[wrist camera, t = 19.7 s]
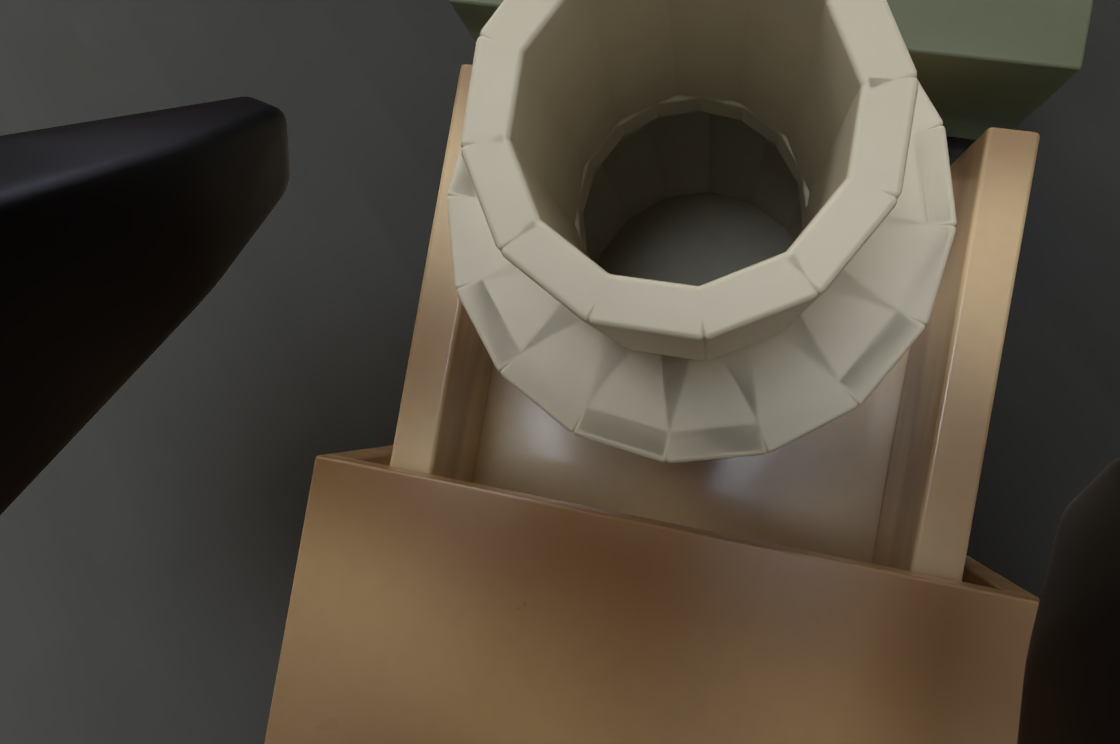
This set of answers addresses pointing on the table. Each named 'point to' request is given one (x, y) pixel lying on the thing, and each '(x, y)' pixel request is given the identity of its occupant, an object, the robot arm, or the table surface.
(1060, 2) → the drawer
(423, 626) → the cabinet
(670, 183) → the bottle
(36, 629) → the table surface
